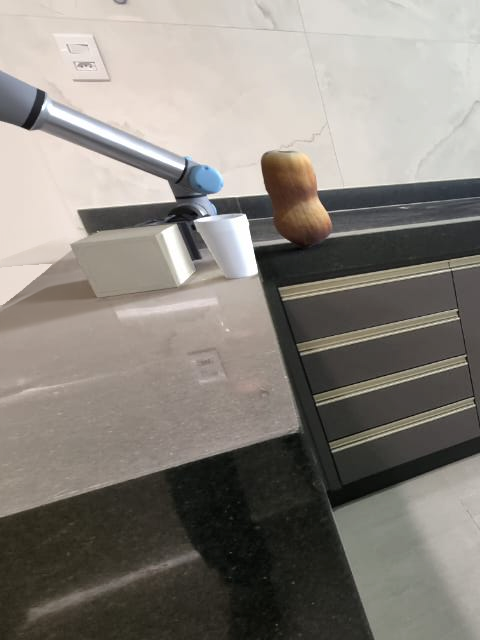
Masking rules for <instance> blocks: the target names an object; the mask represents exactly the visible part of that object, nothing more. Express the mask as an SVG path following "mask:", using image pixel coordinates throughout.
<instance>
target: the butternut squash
mask: <svg viewBox="0 0 480 640" xmlns="http://www.w3.org/2000/svg"><path fill="white" fill-rule="evenodd" d="M260 168H261V174H262V179H263V185H264V189H265V191H266V193H267V194H268V196H269V199H270V201H271V205H272V222H273V225H274V228H275V229H276V231H277V233H278V234H279V235H280V236H281V237H282V238H284V239H285V240H287V241H288V242H290V243H291V244H293V245H295V246H296V247H297V248H299V249H301V250H307V249H310V248H312V247H315V246H319V245H321V244H322V243H323V242H324V241H325V240H327V238H328V237H329V236H330V235H331V233H332V231H333V223H332V221H331V217H330V216H329V215H330V214H329V213H328V211H327V210H326V209H325V206H324V205H323V204H322V202H321V200H320V199H319V195H318V183H317V176H316V172H315V168H314V166H313V164H312V161H311V159H310V157H308V155H306V154H305V153H303V152H301V151H298V150H278V149H277V150H276V149H273V150H268V151H265V152H264V153H263V154H262V156H261V158H260Z"/></svg>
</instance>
